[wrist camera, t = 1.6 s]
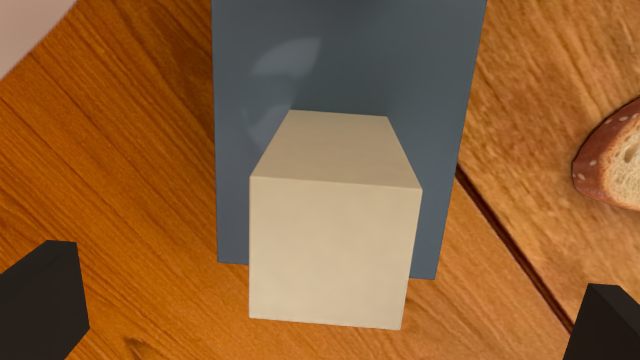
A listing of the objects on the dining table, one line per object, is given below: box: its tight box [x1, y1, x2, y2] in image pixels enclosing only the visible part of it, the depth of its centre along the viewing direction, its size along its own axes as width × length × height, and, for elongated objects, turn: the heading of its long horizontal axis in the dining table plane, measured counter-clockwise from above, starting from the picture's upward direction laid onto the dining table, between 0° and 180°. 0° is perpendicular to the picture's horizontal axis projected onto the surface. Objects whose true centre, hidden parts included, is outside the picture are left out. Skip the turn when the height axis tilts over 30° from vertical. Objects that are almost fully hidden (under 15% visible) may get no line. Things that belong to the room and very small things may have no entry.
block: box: [249, 110, 423, 330], centre depth 18 cm, size 5×5×10 cm
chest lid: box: [211, 0, 487, 280], centre depth 20 cm, size 19×13×6 cm
